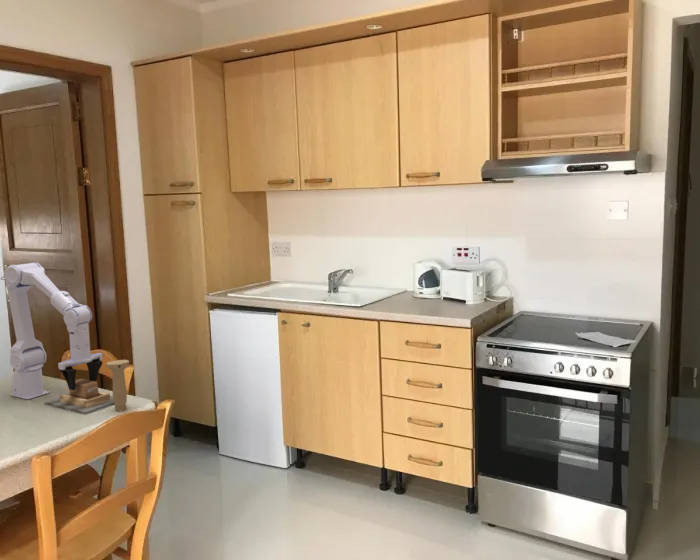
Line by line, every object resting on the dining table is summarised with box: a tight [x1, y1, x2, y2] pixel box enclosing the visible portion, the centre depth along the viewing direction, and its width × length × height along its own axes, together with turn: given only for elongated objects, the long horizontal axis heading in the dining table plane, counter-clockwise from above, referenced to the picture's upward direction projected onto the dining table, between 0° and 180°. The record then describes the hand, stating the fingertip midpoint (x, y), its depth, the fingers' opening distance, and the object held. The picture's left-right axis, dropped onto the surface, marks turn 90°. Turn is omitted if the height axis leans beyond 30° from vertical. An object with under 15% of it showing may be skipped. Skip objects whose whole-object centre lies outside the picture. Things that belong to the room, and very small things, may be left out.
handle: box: [106, 359, 130, 412], centre depth 188 cm, size 5×6×15 cm
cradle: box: [44, 390, 114, 415], centre depth 196 cm, size 20×14×3 cm
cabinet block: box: [68, 378, 99, 400], centre depth 195 cm, size 9×5×6 cm, turn 59°
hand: (82, 386), depth 195 cm, fingers open, 7 cm apart
